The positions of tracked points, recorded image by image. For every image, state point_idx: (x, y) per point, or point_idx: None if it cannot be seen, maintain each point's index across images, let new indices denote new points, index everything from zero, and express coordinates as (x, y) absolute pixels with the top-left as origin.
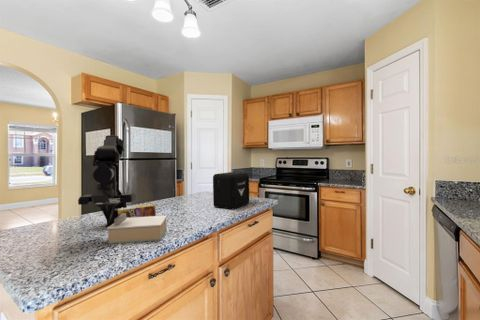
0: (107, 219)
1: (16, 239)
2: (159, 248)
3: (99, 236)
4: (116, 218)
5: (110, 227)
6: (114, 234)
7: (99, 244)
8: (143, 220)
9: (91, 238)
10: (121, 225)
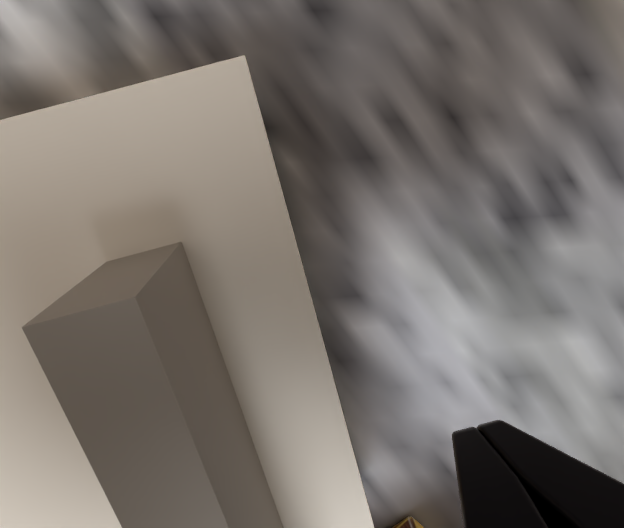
0: (502, 441)
1: None
2: None
3: (533, 337)
4: (141, 395)
5: (182, 102)
6: None
7: (360, 75)
8: None
9: (591, 269)
10: (22, 274)
